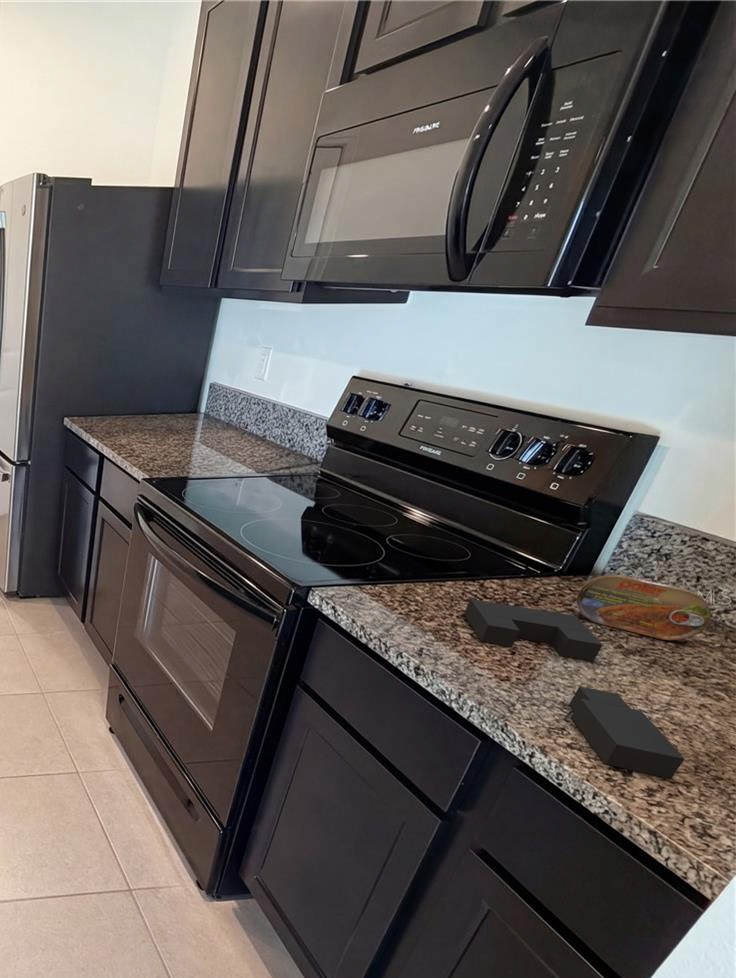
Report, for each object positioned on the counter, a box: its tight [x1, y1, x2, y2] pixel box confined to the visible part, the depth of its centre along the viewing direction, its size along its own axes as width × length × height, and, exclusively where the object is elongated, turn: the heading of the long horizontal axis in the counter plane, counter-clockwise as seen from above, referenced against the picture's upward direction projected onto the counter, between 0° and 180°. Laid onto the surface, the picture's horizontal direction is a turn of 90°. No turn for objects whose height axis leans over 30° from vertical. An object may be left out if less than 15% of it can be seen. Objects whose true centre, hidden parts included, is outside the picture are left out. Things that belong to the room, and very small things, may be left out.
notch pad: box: [463, 598, 603, 662], centre depth 103 cm, size 14×10×3 cm
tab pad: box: [568, 685, 685, 780], centre depth 81 cm, size 6×14×3 cm, turn 157°
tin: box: [576, 574, 712, 641], centre depth 105 cm, size 15×3×8 cm, turn 45°
